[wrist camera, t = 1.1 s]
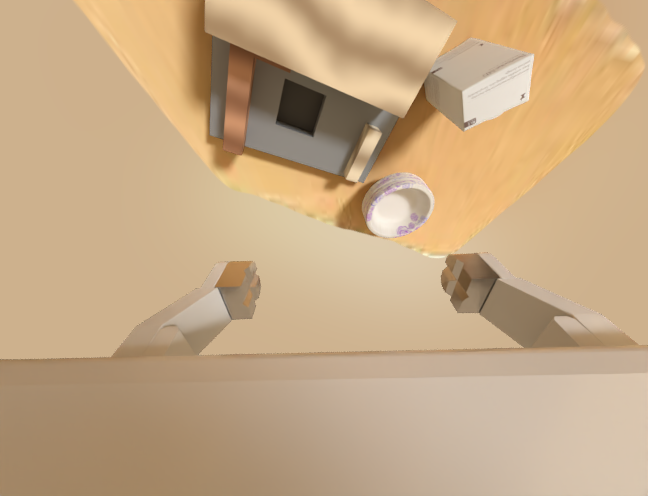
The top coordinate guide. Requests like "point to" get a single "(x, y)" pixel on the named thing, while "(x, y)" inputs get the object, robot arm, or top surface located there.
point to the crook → (240, 96)
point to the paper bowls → (397, 205)
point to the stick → (362, 152)
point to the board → (298, 116)
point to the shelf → (341, 42)
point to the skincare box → (478, 82)
